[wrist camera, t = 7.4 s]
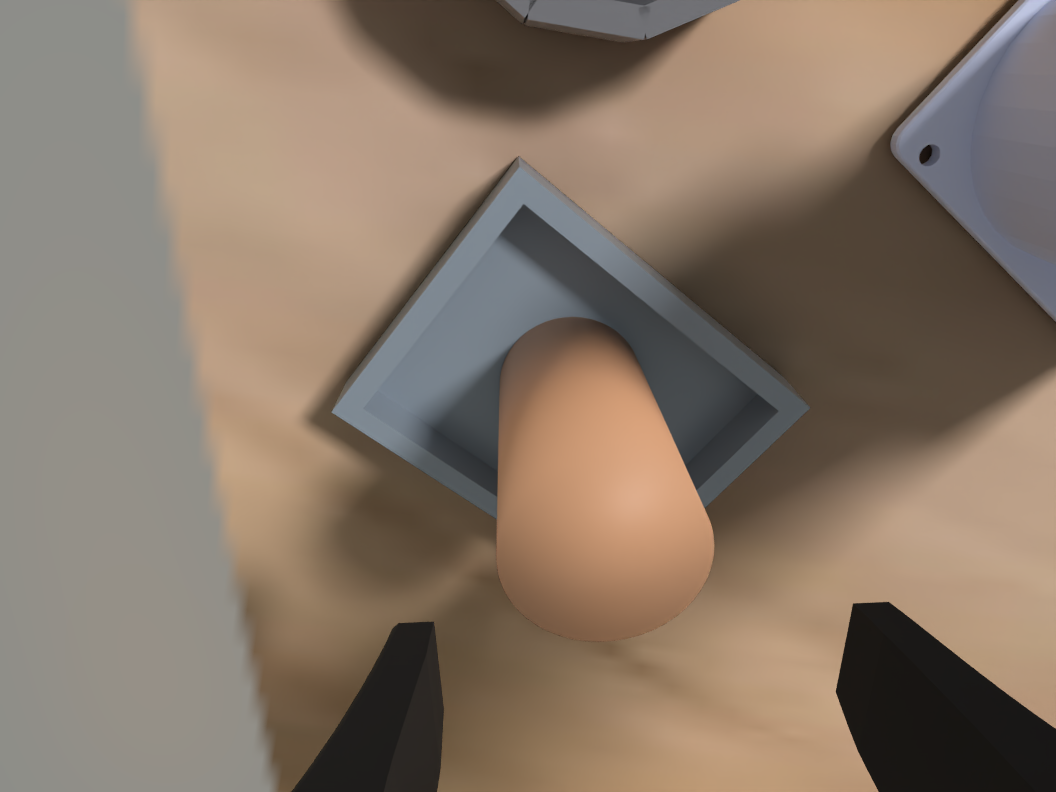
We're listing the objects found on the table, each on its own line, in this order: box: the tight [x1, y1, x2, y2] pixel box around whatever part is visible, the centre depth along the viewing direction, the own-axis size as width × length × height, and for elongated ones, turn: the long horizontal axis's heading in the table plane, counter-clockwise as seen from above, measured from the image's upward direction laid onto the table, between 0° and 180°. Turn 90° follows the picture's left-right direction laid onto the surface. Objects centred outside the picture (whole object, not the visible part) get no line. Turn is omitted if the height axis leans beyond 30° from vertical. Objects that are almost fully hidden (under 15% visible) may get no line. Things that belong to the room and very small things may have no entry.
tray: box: [332, 156, 810, 519], centre depth 20 cm, size 10×8×2 cm
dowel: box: [496, 317, 714, 642], centre depth 17 cm, size 4×4×8 cm
